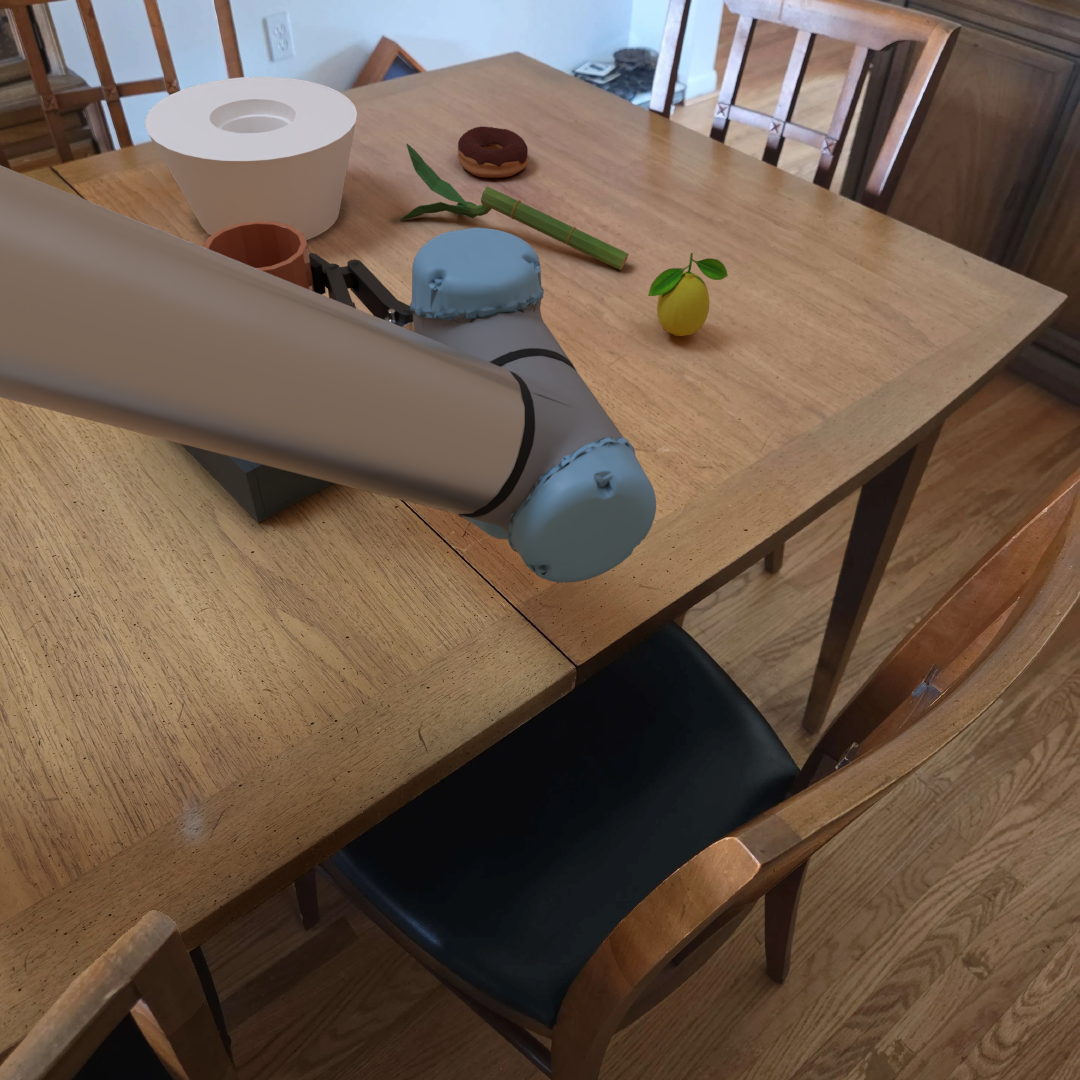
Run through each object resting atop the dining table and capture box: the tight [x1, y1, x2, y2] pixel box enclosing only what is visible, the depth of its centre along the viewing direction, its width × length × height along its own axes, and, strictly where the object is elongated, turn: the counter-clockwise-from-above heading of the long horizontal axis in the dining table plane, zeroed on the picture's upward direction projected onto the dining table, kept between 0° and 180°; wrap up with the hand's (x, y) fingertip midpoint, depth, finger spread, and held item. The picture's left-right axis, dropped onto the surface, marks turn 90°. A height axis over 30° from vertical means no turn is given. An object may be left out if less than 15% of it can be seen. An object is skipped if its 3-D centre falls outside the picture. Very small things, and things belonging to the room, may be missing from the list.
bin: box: [181, 444, 335, 524], centre depth 86 cm, size 18×18×6 cm
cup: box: [202, 221, 315, 292], centre depth 78 cm, size 8×8×10 cm
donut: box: [457, 125, 530, 179], centre depth 127 cm, size 10×10×4 cm
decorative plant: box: [399, 143, 629, 271], centre depth 113 cm, size 6×8×30 cm
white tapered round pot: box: [144, 76, 358, 241], centre depth 113 cm, size 24×24×12 cm
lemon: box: [647, 252, 729, 337], centre depth 98 cm, size 7×6×10 cm
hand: (234, 266), depth 79 cm, fingers closed on cup, 8 cm apart
